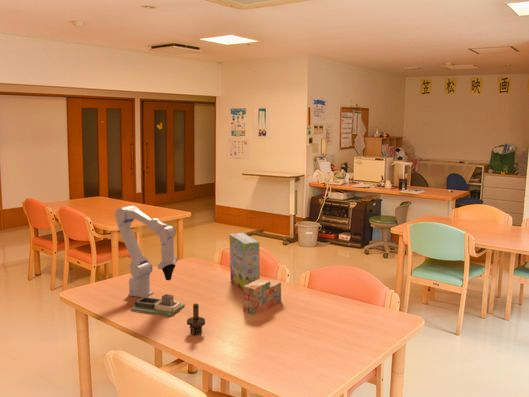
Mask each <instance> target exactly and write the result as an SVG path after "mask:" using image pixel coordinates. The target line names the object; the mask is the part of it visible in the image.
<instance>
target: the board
mask: <svg viewBox="0 0 529 397" xmlns="http://www.w3.org/2000/svg"><path fill="white" fill-rule="evenodd" d="M134 303H135V304H134V305H133V307H130V311H132V312H138V313H139V312H140V313H145V314H150V315H151V314H152V315H156V316H163V317H172V316H173V315H174V314H177V312H179V311H180V310H181V309H183V308H185V306H186V304H185V303H182V301H181V302H180V301H176V300H174V306H173V307H171V306H164V305H162V298H154V297H148V296H147V297H140V299H137V300H136V301H135V302H134Z"/></svg>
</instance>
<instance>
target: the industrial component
mask: <svg viewBox="0 0 529 397" xmlns="http://www.w3.org/2000/svg"><path fill="white" fill-rule="evenodd" d="M192 305H193V306H192V307H193V308H192V311H193V312H192V317H189V318H187V319H186V325H188V326H189V328H190V331H189V332H190V334H191V336H195V335H198V336H199V335H201V334H202V333H203V327H204V326H205V325H206V319H205V318H204V317H201V316H199V315H200V312H199V307H200V306H199V304H198V303H193V304H192Z"/></svg>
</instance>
